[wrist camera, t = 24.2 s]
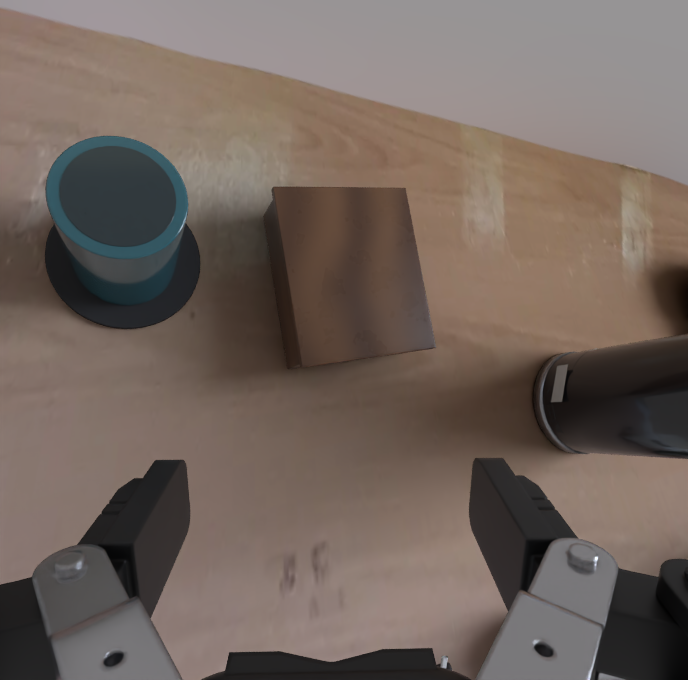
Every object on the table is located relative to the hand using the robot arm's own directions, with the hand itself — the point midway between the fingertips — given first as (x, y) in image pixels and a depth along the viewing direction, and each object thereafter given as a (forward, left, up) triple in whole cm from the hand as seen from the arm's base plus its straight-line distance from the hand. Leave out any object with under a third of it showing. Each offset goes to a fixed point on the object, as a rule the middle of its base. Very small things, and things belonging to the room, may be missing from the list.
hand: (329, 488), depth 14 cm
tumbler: (+4, -14, -22) cm, 26 cm away
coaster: (+4, -14, -22) cm, 26 cm away
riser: (-11, -11, -22) cm, 27 cm away
